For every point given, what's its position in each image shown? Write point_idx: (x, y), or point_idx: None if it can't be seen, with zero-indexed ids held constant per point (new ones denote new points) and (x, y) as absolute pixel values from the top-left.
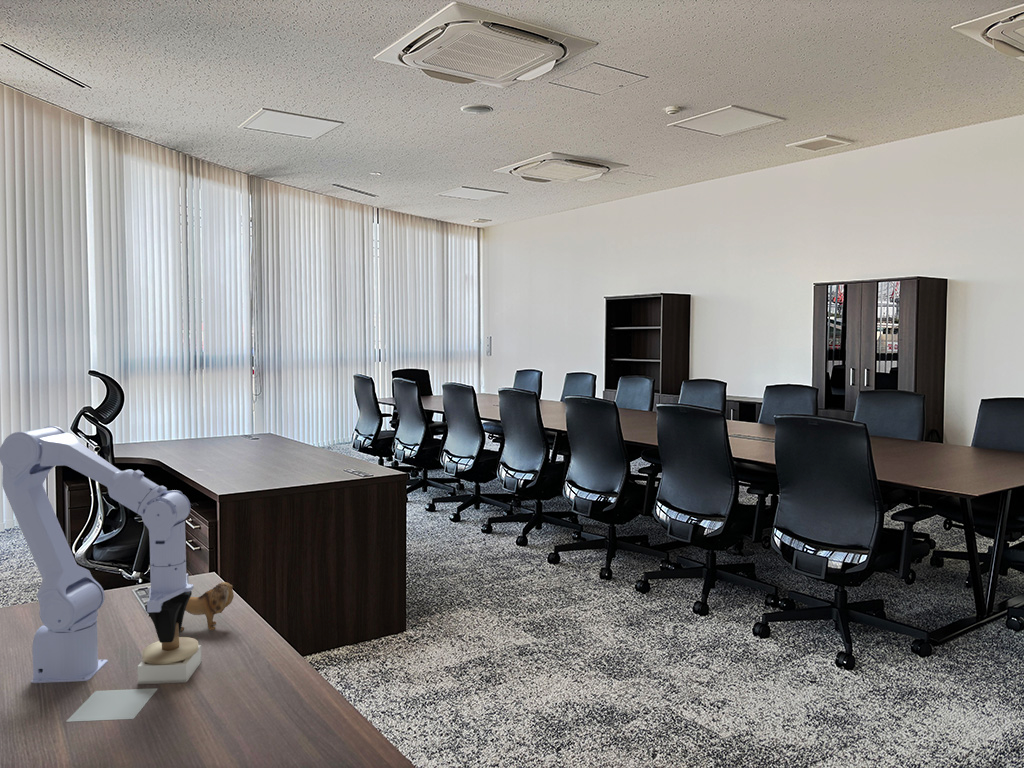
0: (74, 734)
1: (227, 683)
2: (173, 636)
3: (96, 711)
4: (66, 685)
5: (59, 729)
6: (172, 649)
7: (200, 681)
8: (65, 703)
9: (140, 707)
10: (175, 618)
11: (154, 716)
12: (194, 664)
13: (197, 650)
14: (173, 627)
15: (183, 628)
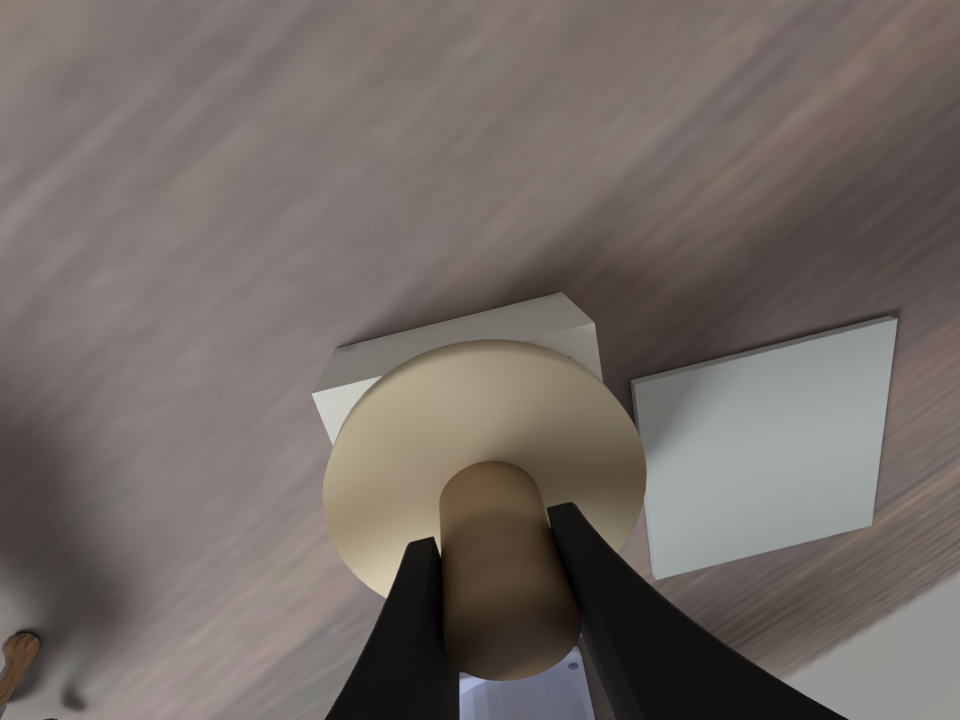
0: (937, 453)
1: (532, 60)
2: (577, 520)
3: (815, 482)
4: (597, 677)
5: (892, 514)
6: (527, 474)
7: (524, 239)
8: (719, 605)
9: (803, 350)
10: (668, 641)
11: (859, 255)
12: (441, 337)
13: (442, 348)
14: (632, 573)
15: (12, 641)
